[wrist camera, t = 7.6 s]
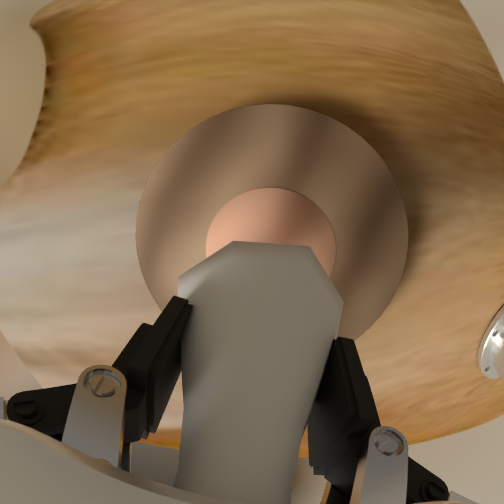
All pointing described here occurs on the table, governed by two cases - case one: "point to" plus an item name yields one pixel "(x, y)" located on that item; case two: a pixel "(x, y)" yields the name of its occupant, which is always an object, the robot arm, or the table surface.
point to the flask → (252, 367)
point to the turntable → (277, 204)
